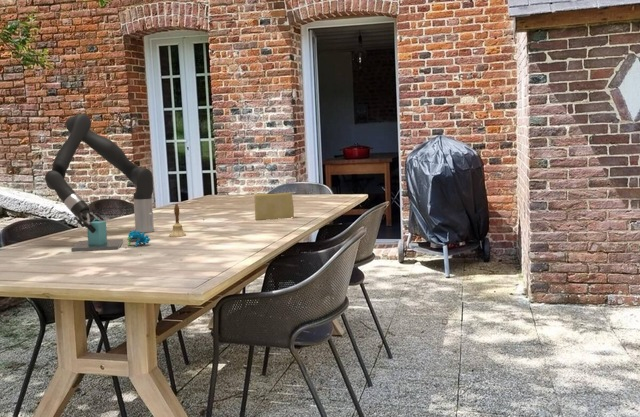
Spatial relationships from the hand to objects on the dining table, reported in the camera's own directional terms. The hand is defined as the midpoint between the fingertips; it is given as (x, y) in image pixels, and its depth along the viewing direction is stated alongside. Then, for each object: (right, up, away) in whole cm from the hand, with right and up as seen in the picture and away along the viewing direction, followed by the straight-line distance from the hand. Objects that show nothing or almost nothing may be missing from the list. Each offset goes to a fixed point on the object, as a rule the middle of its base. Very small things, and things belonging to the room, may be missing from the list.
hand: (99, 230), depth 323 cm
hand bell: (+30, -4, +29) cm, 42 cm away
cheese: (+75, +4, +83) cm, 112 cm away
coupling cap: (-1, -6, +1) cm, 6 cm away
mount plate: (-1, -8, +1) cm, 8 cm away
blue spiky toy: (+17, -7, +3) cm, 19 cm away
